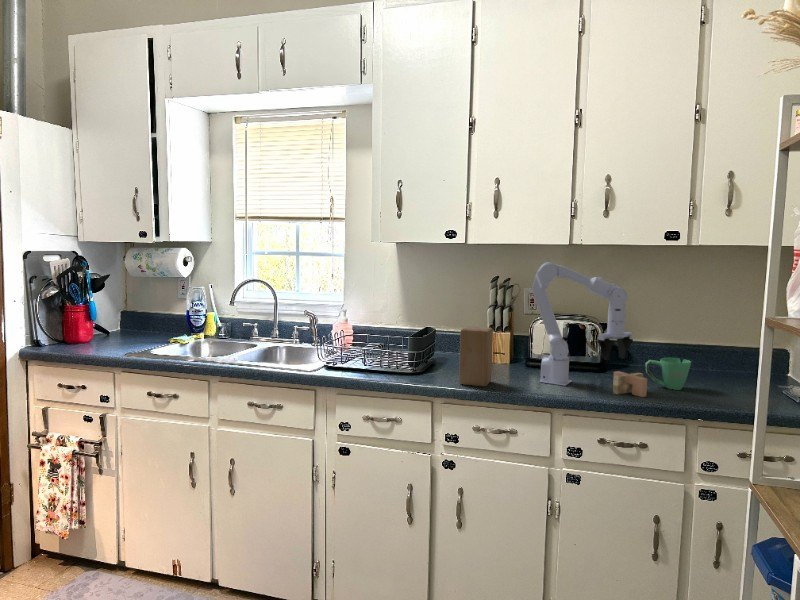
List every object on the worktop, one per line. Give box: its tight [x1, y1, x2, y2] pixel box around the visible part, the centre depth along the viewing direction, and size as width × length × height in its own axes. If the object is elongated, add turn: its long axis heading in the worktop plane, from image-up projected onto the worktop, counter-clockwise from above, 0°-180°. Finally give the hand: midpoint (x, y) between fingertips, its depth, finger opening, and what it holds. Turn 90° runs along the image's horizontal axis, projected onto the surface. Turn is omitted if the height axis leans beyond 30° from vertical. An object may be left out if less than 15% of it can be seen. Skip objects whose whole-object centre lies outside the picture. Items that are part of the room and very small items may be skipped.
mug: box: [645, 357, 692, 391], centre depth 200 cm, size 15×10×10 cm
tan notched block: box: [612, 372, 644, 395], centre depth 193 cm, size 12×2×6 cm, turn 117°
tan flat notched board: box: [612, 370, 648, 398], centre depth 193 cm, size 12×2×6 cm, turn 27°
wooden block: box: [458, 325, 494, 388], centre depth 202 cm, size 10×10×20 cm
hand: (614, 359), depth 200 cm, fingers open, 7 cm apart
